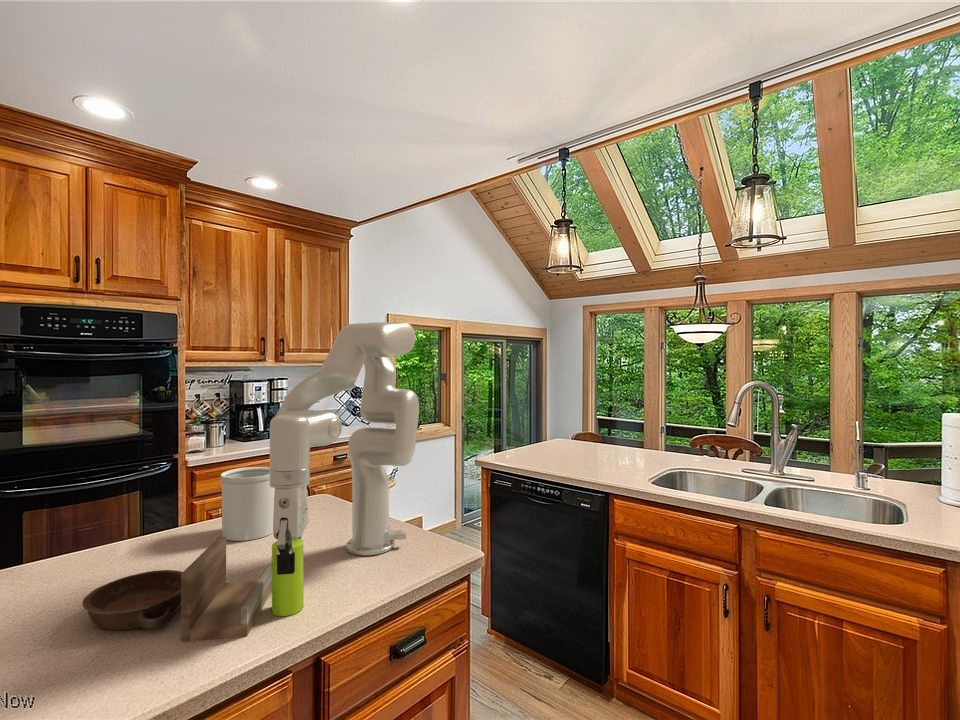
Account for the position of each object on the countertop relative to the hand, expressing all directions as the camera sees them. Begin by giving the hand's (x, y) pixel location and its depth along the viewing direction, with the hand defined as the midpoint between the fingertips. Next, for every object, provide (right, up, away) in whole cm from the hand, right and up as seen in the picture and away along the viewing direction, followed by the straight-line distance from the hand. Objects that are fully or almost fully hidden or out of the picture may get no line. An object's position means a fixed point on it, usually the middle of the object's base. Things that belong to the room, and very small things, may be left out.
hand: (289, 565), depth 98 cm
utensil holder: (-28, -9, +42) cm, 51 cm away
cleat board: (-11, -9, -2) cm, 14 cm away
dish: (-29, -9, -2) cm, 31 cm away
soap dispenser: (0, -9, 0) cm, 9 cm away
